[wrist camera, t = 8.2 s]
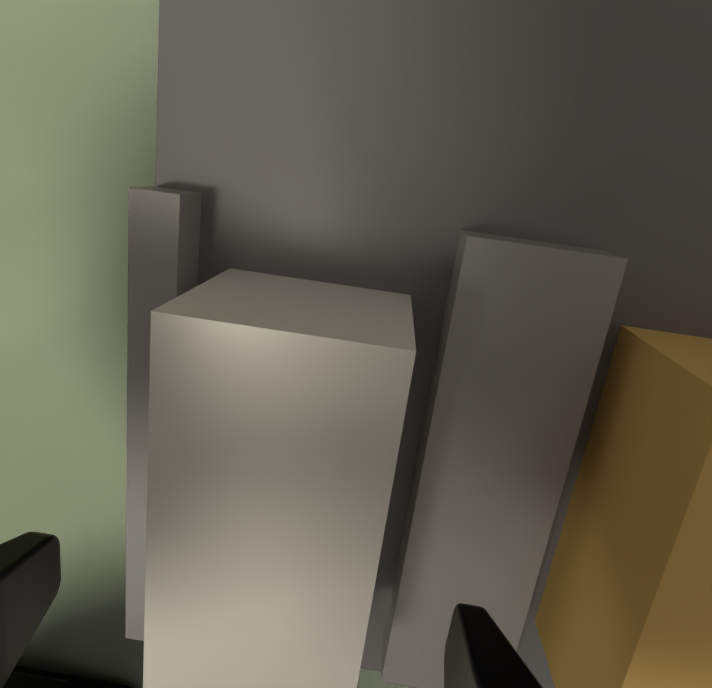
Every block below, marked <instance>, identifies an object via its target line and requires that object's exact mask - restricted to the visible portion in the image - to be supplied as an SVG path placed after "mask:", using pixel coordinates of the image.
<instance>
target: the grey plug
mask: <svg viewBox="0 0 712 688" xmlns="http://www.w3.org/2000/svg"><path fill="white" fill-rule="evenodd" d="M415 355H416V344H415V334H414V323H413V313H412V303H411V295H407V294H400V293H394V292H387V291H380V290H373V289H367V288H360V287H353V286H346V285H340V284H333V283H326V282H319V281H313V280H306V279H299V278H292V277H286V276H279V275H272V274H265V273H258V272H252V271H245V270H238V269H231V268H230V269H228V270H226V271H224V272H222V273H220V274H218V275H217V276H215V277H213V278H211V279H209V280H207V281H206V282H204V283H202V284H200V285H198V286H196V287H195V288H193V289H191V290H189V291H187V292H185V293H183V294H182V295H180V296H178V297H176V298H174V299H172V300H171V301H169V302H167V303H165V304H163V305H161V306H160V307H158V308H156V309H154V310H152V311H151V332H150V379H149V426H148V474H147V521H146V568H145V615H144V663H143V688H357V683H358V678H359V672H360V667H361V661H362V655H363V650H364V644H365V638H366V633H367V627H368V621H369V616H370V610H371V604H372V599H373V593H374V587H375V582H376V576H377V570H378V565H379V559H380V553H381V548H382V542H383V536H384V531H385V525H386V519H387V514H388V508H389V502H390V497H391V491H392V485H393V480H394V474H395V468H396V463H397V457H398V451H399V446H400V440H401V434H402V429H403V423H404V417H405V412H406V406H407V400H408V395H409V389H410V384H411V378H412V372H413V367H414V361H415Z"/></svg>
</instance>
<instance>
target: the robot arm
mask: <svg viewBox="0 0 712 688" xmlns="http://www.w3.org/2000/svg"><path fill="white" fill-rule="evenodd" d="M60 581H61V567H60V544H59V540H58V538H57V537H56V536H54V535H52V534H46V533H40V532H28V533H25V534H22V535H20V536H18V537H16V538H13V539H11V540H9V541H7V542H4V543H2V544H0V688H131V687H130V686H127V685H124V684H118V683H112V682H106V681H101V680H95V679H89V678H83V677H78V676H72V675H66V674H60V673H55V672H49V671H43V670H37V669H32V668H26V667H20V666H16V664H17V662H18V661H19V659H20V657H21V655H22V654H23V652H24V650H25V649H26V647H27V645H28V643H29V642H30V640H31V638H32V636H33V635H34V633H35V631H36V629H37V628H38V626H39V624H40V622H41V621H42V619H43V617H44V615H45V614H46V612H47V610H48V608H49V607H50V605H51V603H52V602H53V600H54V598H55V596H56V594H57V592H58V589H59V586H60ZM444 688H543V687H542V686H541V684H540V683H539V682H538V680H537V679H536V678H535V676H534V675H533V674H532V672H531V671H530V669H529V668H528V667H527V665H526V664H525V663H524V661H523V660H522V658H521V657H520V656H519V654H518V653H517V652H516V650H515V649H514V648H513V646H512V645H511V643H510V642H509V641H508V639H507V638H506V637H505V635H504V634H503V633H502V631H501V630H500V628H499V627H498V626H497V624H496V623H495V622H494V620H493V619H492V617H491V616H490V615H489V613H488V612H487V611H486V610H485V609H484V608H483V607H481V606H476V605H470V604H464V603H459V604H457V605H456V606H455V608H454V611H453V615H452V619H451V623H450V628H449V632H448V636H447V640H446V645H445V652H444Z"/></svg>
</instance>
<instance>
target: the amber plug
mask: <svg viewBox="0 0 712 688" xmlns="http://www.w3.org/2000/svg"><path fill="white" fill-rule="evenodd" d="M535 623H536V626H537V630H538V633H539V636H540V640H541V643H542V646H543V649H544V653H545V656H546V659H547V663H548V666H549V669H550V672H551V676H552V679H553V682H554V686H555V688H712V339H710V338H703V337H697V336H690V335H683V334H676V333H669V332H663V331H656V330H649V329H642V328H636V327H629V326H622V325H621V328H620V331H619V335H618V338H617V342H616V345H615V348H614V352H613V355H612V359H611V362H610V366H609V369H608V372H607V376H606V379H605V383H604V386H603V390H602V393H601V396H600V400H599V403H598V407H597V410H596V414H595V417H594V420H593V424H592V427H591V431H590V434H589V438H588V441H587V444H586V448H585V451H584V455H583V458H582V462H581V465H580V468H579V472H578V475H577V479H576V482H575V486H574V489H573V492H572V496H571V499H570V503H569V506H568V510H567V513H566V516H565V520H564V523H563V527H562V530H561V534H560V537H559V540H558V544H557V547H556V551H555V554H554V558H553V561H552V564H551V568H550V571H549V575H548V578H547V582H546V585H545V588H544V592H543V595H542V599H541V602H540V606H539V609H538V612H537V616H536V619H535Z"/></svg>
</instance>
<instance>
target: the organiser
mask: <svg viewBox="0 0 712 688" xmlns="http://www.w3.org/2000/svg"><path fill="white" fill-rule="evenodd" d="M230 268H231V269H238V270H245V271H252V272H258V273H265V274H272V275H279V276H286V277H292V278H299V279H306V280H313V281H319V282H326V283H333V284H340V285H346V286H353V287H360V288H367V289H373V290H380V291H387V292H394V293H400V294H407V295H411V303H412V313H413V323H414V334H415V344H416V355H415V361H414V367H413V372H412V378H411V384H410V389H409V395H408V400H407V406H406V412H405V417H404V423H403V429H402V434H401V440H400V446H399V451H398V457H397V463H396V468H395V474H394V480H393V485H392V491H391V497H390V502H389V508H388V514H387V519H386V525H385V531H384V536H383V542H382V548H381V553H380V559H379V565H378V570H377V576H376V582H375V587H374V593H373V599H372V604H371V610H370V616H369V621H368V627H367V633H366V638H365V644H364V650H363V655H362V661H361V667H360V668H363V669H369V670H375V671H381V682H385V683H391V684H397V685H403V686H409V687H415V688H444V652H445V645H446V640H447V636H448V632H449V628H450V623H451V619H452V615H453V611H454V608H455V606H456V605H457V604H459V603H464V604H470V605H476V606H481V607H483V608H484V609H485V610H486V611H487V612H488V613H489V615H490V616H491V617H492V619H493V620H494V622H495V623H496V624H497V626H498V627H499V628H500V630H501V631H502V633H503V634H504V635H505V637H506V638H507V639H508V641H509V642H510V643H511V645H512V646H513V648H514V649H515V650H516V652H517V653H518V654H519V656H520V657H521V658H522V660H523V661H524V663H525V664H526V665H527V667H528V668H529V669H530V671H531V672H532V674H533V675H534V676H535V678H536V679H537V680H538V682H539V683H540V684H541V686H542V687H543V688H555V686H554V682H553V679H552V676H551V672H550V669H549V666H548V663H547V659H546V656H545V653H544V649H543V646H542V643H541V640H540V636H539V633H538V630H537V626H536V623H535V619H536V616H537V612H538V609H539V606H540V602H541V599H542V595H543V592H544V588H545V585H546V582H547V578H548V575H549V571H550V568H551V564H552V561H553V558H554V554H555V551H556V547H557V544H558V540H559V537H560V534H561V530H562V527H563V523H564V520H565V516H566V513H567V510H568V506H569V503H570V499H571V496H572V492H573V489H574V486H575V482H576V479H577V475H578V472H579V468H580V465H581V462H582V458H583V455H584V451H585V448H586V444H587V441H588V438H589V434H590V431H591V427H592V424H593V420H594V417H595V414H596V410H597V407H598V403H599V400H600V396H601V393H602V390H603V386H604V383H605V379H606V376H607V372H608V369H609V366H610V362H611V359H612V355H613V352H614V348H615V345H616V342H617V338H618V335H619V331H620V328H621V325H622V326H629V327H636V328H642V329H649V330H656V331H663V332H669V333H676V334H683V335H690V336H697V337H703V338H710V339H712V0H160V5H159V51H158V97H157V143H156V186H149V187H129V233H128V364H127V495H126V626H125V638H128V639H134V640H140V641H144V615H145V568H146V521H147V474H148V426H149V379H150V332H151V311H152V310H154V309H156V308H158V307H160V306H161V305H163V304H165V303H167V302H169V301H171V300H172V299H174V298H176V297H178V296H180V295H182V294H183V293H185V292H187V291H189V290H191V289H193V288H195V287H196V286H198V285H200V284H202V283H204V282H206V281H207V280H209V279H211V278H213V277H215V276H217V275H218V274H220V273H222V272H224V271H226V270H228V269H230Z"/></svg>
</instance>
